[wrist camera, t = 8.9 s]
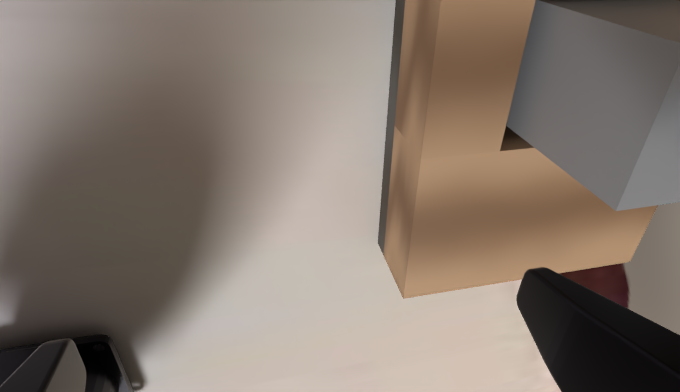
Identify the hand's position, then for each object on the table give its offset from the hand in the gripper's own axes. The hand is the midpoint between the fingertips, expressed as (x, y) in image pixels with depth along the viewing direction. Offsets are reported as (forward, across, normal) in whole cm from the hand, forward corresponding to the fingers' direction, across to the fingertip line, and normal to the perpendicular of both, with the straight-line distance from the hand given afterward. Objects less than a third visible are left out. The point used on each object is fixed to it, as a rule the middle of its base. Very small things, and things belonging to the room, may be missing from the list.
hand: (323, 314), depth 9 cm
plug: (+10, -11, -3) cm, 15 cm away
